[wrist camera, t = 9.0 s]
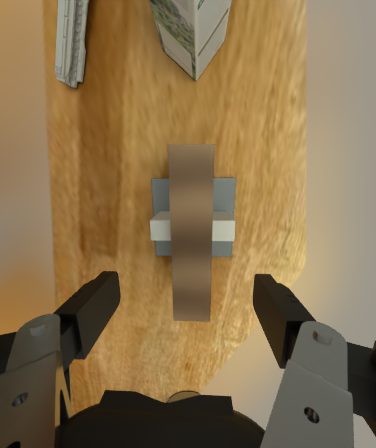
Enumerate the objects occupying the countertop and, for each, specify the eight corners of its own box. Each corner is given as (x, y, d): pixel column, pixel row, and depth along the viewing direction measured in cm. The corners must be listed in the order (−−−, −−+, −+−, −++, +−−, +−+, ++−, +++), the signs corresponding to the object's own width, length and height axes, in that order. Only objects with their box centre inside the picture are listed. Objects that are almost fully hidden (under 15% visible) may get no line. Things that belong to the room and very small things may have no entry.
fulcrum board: (230, 254, 30) (240, 277, 23) (157, 253, 30) (145, 275, 23) (234, 177, 27) (247, 178, 20) (153, 178, 27) (138, 179, 20)
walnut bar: (173, 151, 19) (167, 144, 16) (211, 150, 19) (214, 144, 15) (177, 297, 24) (173, 320, 20) (207, 298, 24) (210, 321, 20)
